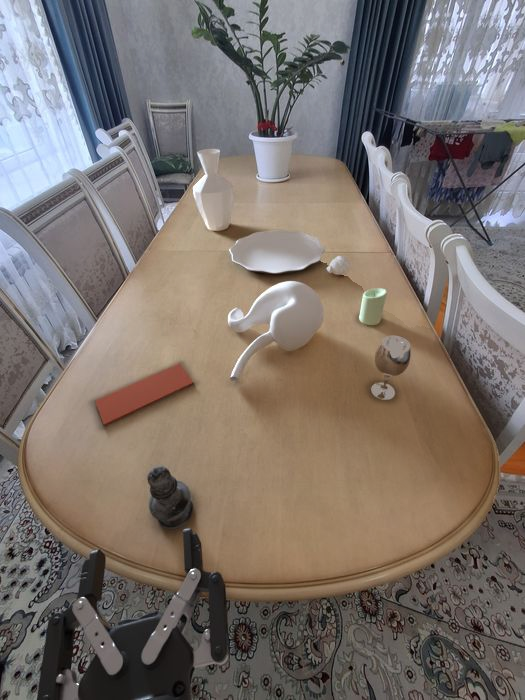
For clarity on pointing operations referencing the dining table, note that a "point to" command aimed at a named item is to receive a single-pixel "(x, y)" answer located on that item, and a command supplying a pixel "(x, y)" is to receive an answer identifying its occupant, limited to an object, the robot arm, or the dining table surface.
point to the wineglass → (390, 363)
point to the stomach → (279, 319)
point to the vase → (214, 193)
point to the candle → (372, 306)
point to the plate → (277, 251)
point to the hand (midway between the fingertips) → (144, 541)
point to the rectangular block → (142, 393)
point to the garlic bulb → (339, 265)
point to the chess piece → (169, 498)
